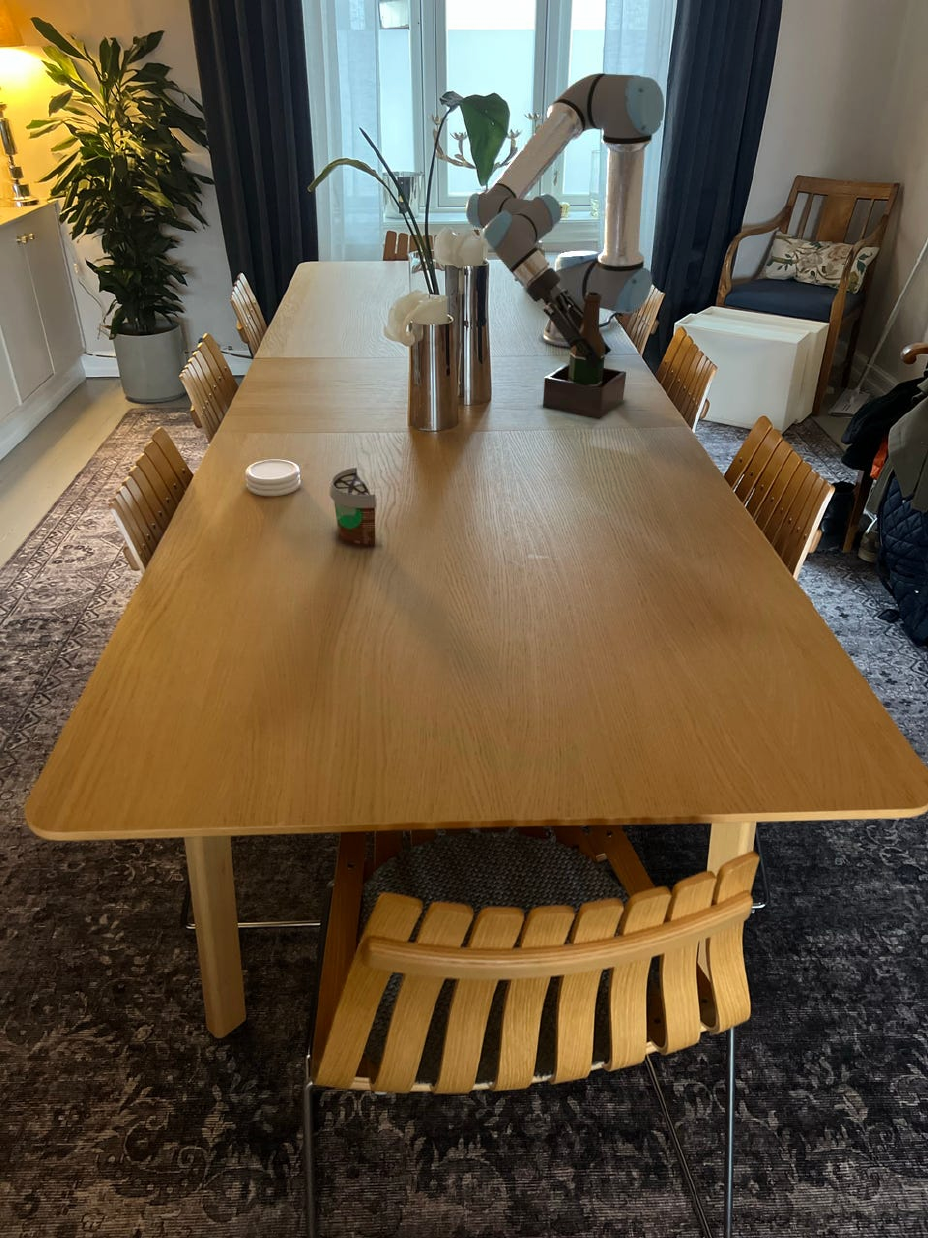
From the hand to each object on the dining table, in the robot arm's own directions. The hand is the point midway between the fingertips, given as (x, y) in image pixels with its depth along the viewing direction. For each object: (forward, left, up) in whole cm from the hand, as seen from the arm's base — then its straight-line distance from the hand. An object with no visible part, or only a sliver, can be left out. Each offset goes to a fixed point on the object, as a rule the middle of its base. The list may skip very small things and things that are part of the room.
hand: (602, 359), depth 214 cm
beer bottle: (0, -3, -10) cm, 11 cm away
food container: (+82, -11, -11) cm, 84 cm away
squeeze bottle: (-92, -62, -11) cm, 111 cm away
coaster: (+73, -35, -11) cm, 82 cm away
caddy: (0, -3, -11) cm, 12 cm away
